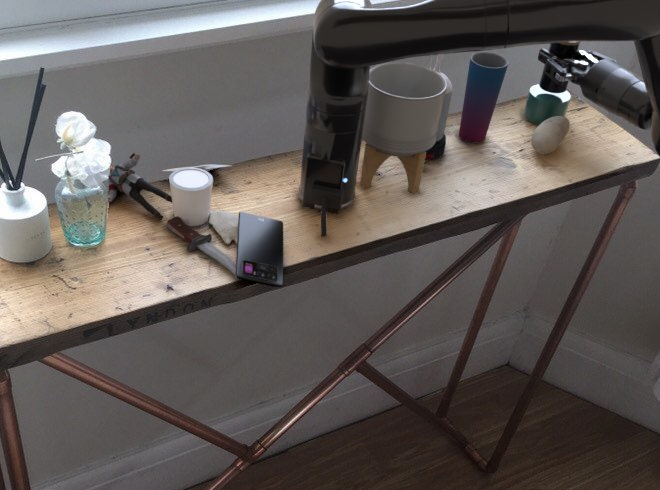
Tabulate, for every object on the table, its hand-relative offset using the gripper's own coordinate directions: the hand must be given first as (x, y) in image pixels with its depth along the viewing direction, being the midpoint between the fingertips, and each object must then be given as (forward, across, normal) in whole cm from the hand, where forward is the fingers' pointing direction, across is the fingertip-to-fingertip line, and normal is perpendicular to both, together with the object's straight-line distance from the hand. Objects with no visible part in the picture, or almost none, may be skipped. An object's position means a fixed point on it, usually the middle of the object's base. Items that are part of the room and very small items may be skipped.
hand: (551, 51), depth 169 cm
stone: (-12, +7, +12) cm, 19 cm away
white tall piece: (-4, +30, +12) cm, 33 cm away
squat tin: (-2, 0, +12) cm, 13 cm away
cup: (-3, +19, +12) cm, 23 cm away
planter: (-9, +41, +12) cm, 44 cm away
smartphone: (-21, +73, +10) cm, 77 cm away
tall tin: (-3, 0, +6) cm, 7 cm away
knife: (-15, +78, +12) cm, 80 cm away
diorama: (+5, +72, +11) cm, 73 cm away
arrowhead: (-17, +73, +11) cm, 76 cm away
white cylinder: (-7, +78, +12) cm, 80 cm away
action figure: (-6, +83, +10) cm, 83 cm away
